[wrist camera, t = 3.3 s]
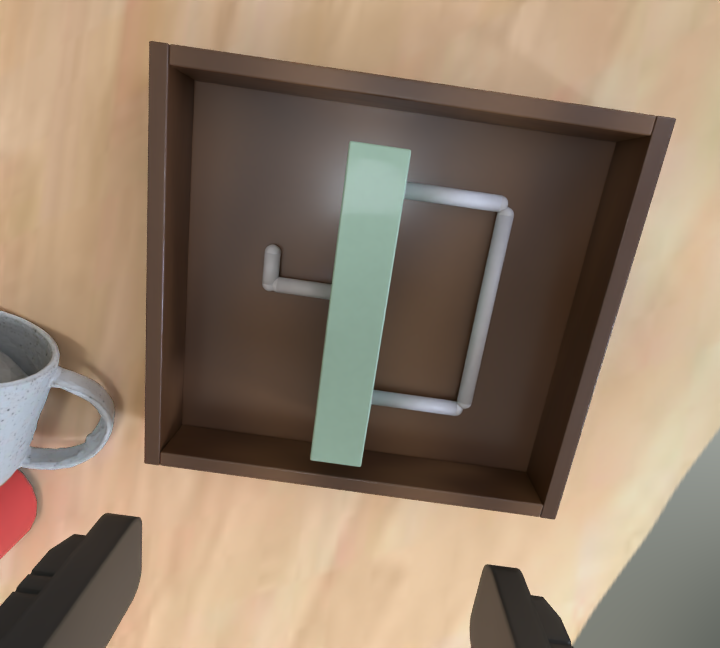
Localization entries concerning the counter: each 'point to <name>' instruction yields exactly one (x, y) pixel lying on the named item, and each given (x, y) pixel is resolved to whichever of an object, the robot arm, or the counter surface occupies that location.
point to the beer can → (15, 510)
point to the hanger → (379, 297)
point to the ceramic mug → (40, 399)
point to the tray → (408, 281)
